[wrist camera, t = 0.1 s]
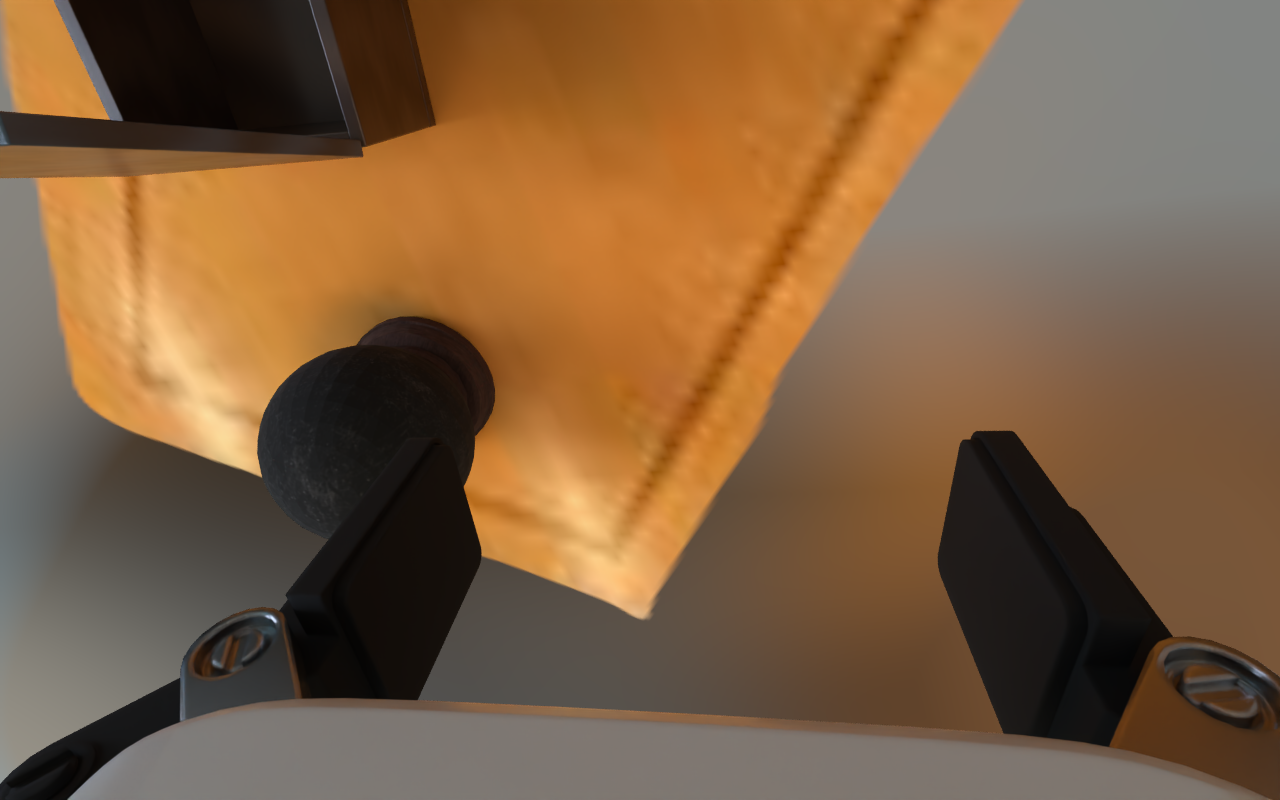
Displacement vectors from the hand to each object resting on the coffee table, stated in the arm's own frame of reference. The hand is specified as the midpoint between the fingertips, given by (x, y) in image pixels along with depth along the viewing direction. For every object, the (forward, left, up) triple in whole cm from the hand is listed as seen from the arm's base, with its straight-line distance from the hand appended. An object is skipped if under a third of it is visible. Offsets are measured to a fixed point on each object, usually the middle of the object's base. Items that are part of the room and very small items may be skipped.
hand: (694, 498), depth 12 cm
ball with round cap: (+14, -23, -31) cm, 41 cm away
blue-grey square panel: (-6, -24, -14) cm, 28 cm away
